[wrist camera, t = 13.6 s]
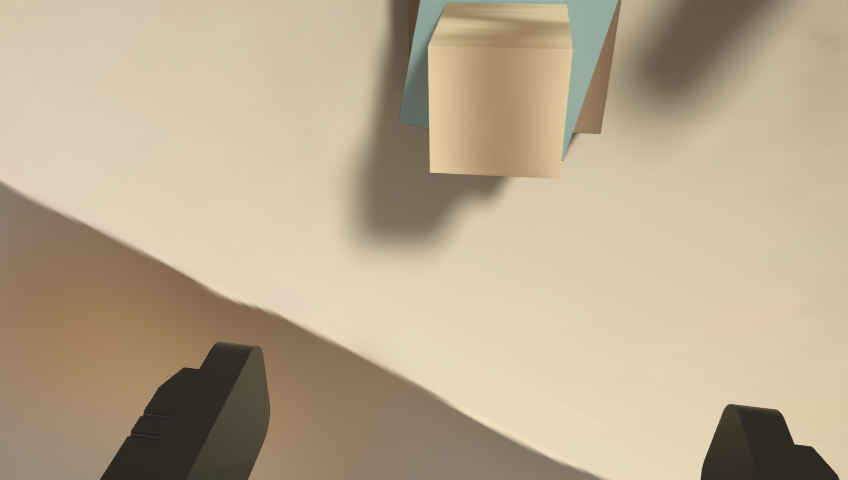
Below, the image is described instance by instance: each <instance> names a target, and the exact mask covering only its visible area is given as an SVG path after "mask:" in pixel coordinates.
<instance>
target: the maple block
mask: <svg viewBox="0 0 848 480" xmlns="http://www.w3.org/2000/svg"><path fill="white" fill-rule="evenodd" d="M572 52H573V48H572V40H571V32H570V24H569V17H568V9H567V4H521V3H461V2H447V4H446V6H445V8H444V10H443V13H442V15H441V17H440V20H439V22H438V24H437V26H436V29H435V31H434V33H433V36H432V38H431V40H430V42H429V45H428V79H429V142H430V173H449V174H469V175H490V176H510V177H531V178H551V179H560V170H561V160H562V151H563V141H564V131H565V121H566V111H567V101H568V91H569V81H570V72H571V62H572Z"/></svg>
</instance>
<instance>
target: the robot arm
mask: <svg viewBox="0 0 848 480" xmlns="http://www.w3.org/2000/svg"><path fill="white" fill-rule="evenodd" d="M269 417H270V403H269V396H268V389H267V381H266V373H265V366H264V358H263V352H262V349H261V348H260V347H258V346H251V345H242V344H234V343H226V342H217V343H216V344H215V345H214V346H213V347H212V349H211V350H210V352H209V354H208V355H207V357H206V359H205V360H204V362H203V364H202V365H201V367H200V369H192V368H183V369H181V370H180V371H179V372H177V373H176V374H175V375H174V376H172V377H171V378H170V379H169V380H167V381H166V382H165V383H164V384H163V385H161V386H160V387H159V388H158V390H157V391H156V393H155V394H154V396H153V398H152V399H151V401H150V402H149V404H148V406H147V407H146V409H145V410H144V414H143V416H140V418H139V419H138V421H137V423H136V424H135V426H134V428H133V429H132V431H131V435H130V437H127V438H126V440H125V441H124V443H123V445H122V446H121V448H120V449H119V451H118V452H117V454H116V456H115V457H114V459H113V461H112V462H111V464H110V465H109V466H108V468H107V470H106V471H105V473H104V474H103V476H102V477H101V479H100V480H248V478H249V476H250V473H251V471H252V469H253V466H254V464H255V461H256V459H257V457H258V454H259V452H260V449H261V447H262V445H263V442H264V440H265V437H266V434H267V429H268V425H269ZM701 480H839V478H838V475H837V474H836V473H835V472H834V471H833V470H832V468H831V467H830V466H829V465H828V464H827V463H826V462H825V461H824V459H823V458H822V457H821V456H820V455H819V454H818V453H817V452H816V451H815V449H814V448H813V447H811V446H803V445H795V444H794V442H793V439H792V437H791V434H790V432H789V429H788V427H787V424H786V422H785V419H784V417H783V415H782V414H781V413H780V412H779V411H778V410H776V409H767V408H759V407H751V406H742V405H734V404H729V405H727V406H726V408H725V409H724V411H723V414H722V416H721V419H720V421H719V424H718V426H717V429H716V432H715V434H714V437H713V439H712V442H711V444H710V447H709V450H708V452H707V455H706V457H705V460H704V463H703V467H702V473H701Z"/></svg>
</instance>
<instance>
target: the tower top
mask: <svg viewBox="0 0 848 480" xmlns="http://www.w3.org/2000/svg"><path fill="white" fill-rule="evenodd" d="M447 2H461V3H521V4H567V9H568V17H569V24H570V32H571V40H572V48H573V52H572V62H571V72H570V81H569V91H568V101H567V111H566V121H565V131H564V141H563V151H562V160H561V161H563V160H564V157H565V154H566V151H567V148H568V145H569V142H570V139H571V136H572V133H573V130H574V128H575V125H576V122H577V119H578V116H579V113H580V110H581V107H582V104H583V101H584V98H585V96H586V93H587V90H588V87H589V84H590V81H591V78H592V75H593V72H594V69H595V66H596V64H597V61H598V58H599V55H600V52H601V49H602V46H603V43H604V40H605V37H606V34H607V32H608V29H609V26H610V23H611V20H612V17H613V14H614V11H615V8H616V5H617V2H618V0H420V5H419V11H418V16H417V22H416V27H415V33H414V38H413V43H412V49H411V54H410V60H409V65H408V71H407V76H406V82H405V87H404V92H403V98H402V103H401V109H400V114H399V120H398V122H400V123H405V124H409V125H413V126H417V127H421V128H426V129H429V79H428V45H429V42H430V40H431V38H432V36H433V33H434V31H435V29H436V26H437V24H438V22H439V20H440V17H441V15H442V13H443V10H444V8H445V6H446V4H447Z"/></svg>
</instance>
